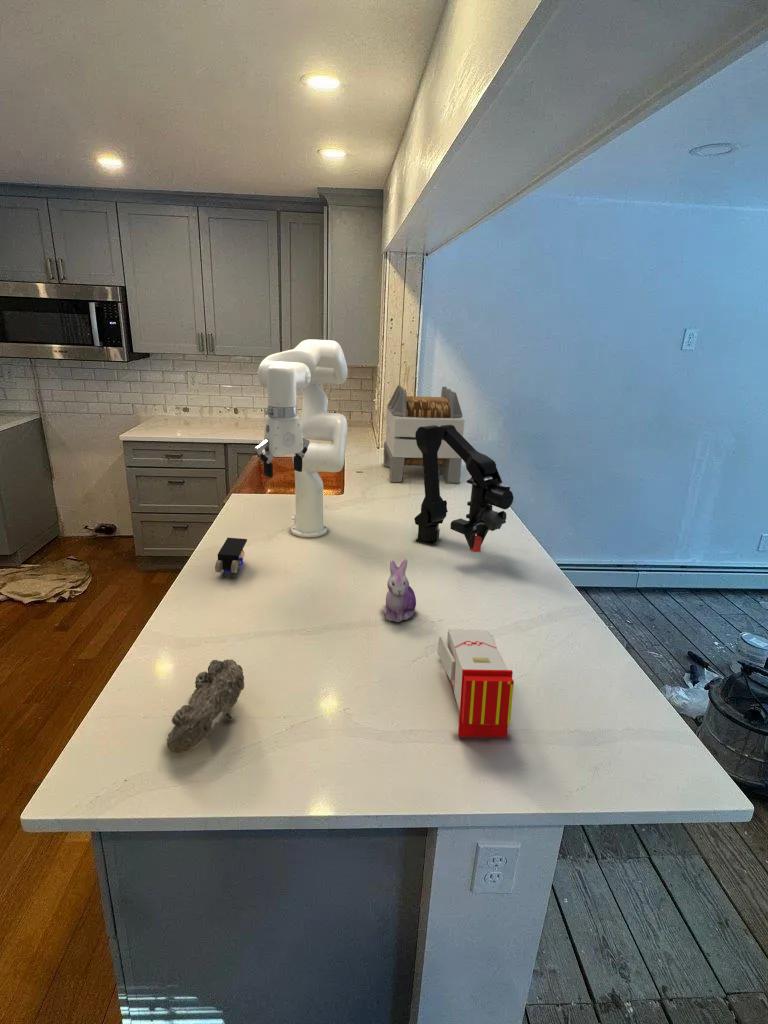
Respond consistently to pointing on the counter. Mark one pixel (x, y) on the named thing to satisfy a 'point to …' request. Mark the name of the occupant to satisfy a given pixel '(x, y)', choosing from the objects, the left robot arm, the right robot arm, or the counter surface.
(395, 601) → the figurine
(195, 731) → the fossil
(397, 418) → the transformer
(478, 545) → the can
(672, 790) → the counter surface
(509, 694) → the toy
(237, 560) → the figurine character
